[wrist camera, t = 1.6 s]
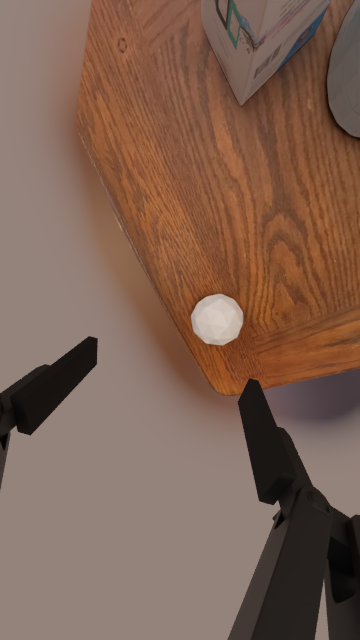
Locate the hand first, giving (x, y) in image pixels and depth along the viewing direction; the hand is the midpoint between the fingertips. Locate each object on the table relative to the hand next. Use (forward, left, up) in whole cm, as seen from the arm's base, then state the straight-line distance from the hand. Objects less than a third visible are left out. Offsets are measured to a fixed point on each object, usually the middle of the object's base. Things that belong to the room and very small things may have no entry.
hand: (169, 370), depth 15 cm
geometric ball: (+1, +5, -17) cm, 18 cm away
